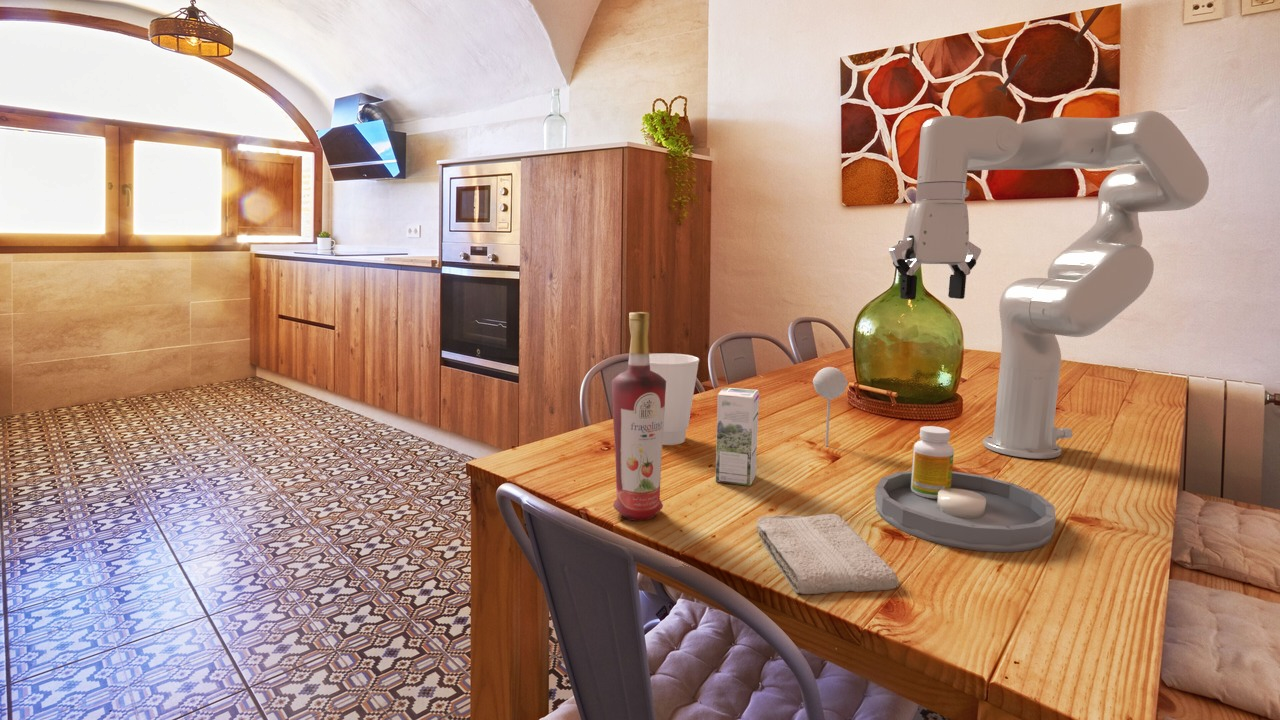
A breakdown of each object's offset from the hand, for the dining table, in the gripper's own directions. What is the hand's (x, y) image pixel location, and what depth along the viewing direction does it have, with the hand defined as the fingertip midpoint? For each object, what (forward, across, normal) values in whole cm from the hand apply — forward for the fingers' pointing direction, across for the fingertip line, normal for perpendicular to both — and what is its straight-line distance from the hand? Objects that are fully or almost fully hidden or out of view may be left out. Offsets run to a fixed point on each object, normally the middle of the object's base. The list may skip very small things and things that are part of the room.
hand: (932, 298), depth 115 cm
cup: (+28, +40, -22) cm, 54 cm away
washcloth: (+29, +37, +30) cm, 56 cm away
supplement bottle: (+28, +12, +17) cm, 35 cm away
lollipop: (+28, +12, -11) cm, 33 cm away
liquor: (+28, +55, +12) cm, 63 cm away
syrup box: (+28, +36, +2) cm, 46 cm away
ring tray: (+28, +12, +24) cm, 39 cm away
